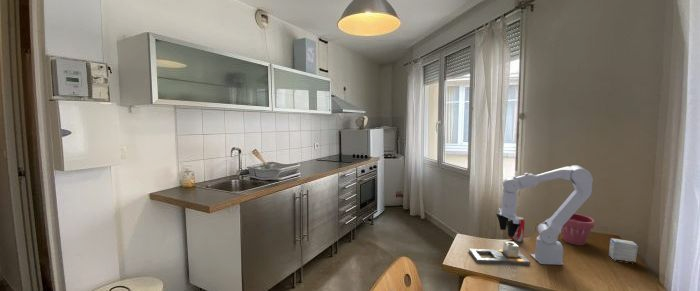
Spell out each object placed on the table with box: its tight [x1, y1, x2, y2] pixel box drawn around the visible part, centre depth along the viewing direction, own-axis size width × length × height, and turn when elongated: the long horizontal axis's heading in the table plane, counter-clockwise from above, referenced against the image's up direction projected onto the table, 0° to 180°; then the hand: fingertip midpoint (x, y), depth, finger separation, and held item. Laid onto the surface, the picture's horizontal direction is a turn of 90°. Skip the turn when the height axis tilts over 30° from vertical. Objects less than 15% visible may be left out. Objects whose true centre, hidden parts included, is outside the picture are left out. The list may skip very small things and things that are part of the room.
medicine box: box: [608, 237, 639, 262], centre depth 125 cm, size 8×4×9 cm, turn 65°
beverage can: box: [508, 215, 526, 243], centre depth 144 cm, size 6×6×12 cm
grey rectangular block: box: [502, 241, 520, 259], centre depth 125 cm, size 4×4×7 cm
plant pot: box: [561, 212, 595, 246], centre depth 143 cm, size 14×14×13 cm
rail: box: [468, 248, 531, 266], centre depth 125 cm, size 22×10×2 cm, turn 87°
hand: (506, 232), depth 130 cm, fingers open, 7 cm apart
